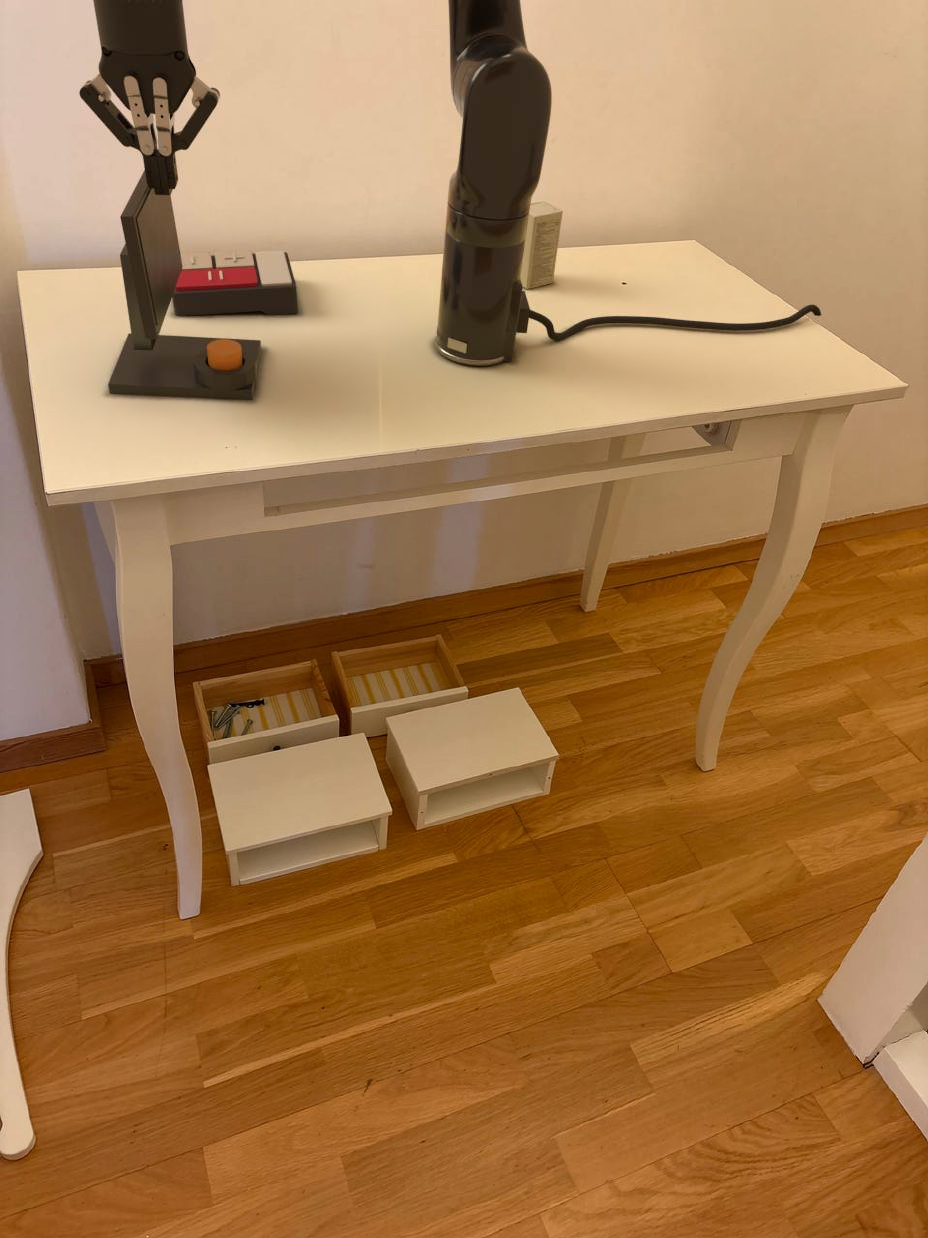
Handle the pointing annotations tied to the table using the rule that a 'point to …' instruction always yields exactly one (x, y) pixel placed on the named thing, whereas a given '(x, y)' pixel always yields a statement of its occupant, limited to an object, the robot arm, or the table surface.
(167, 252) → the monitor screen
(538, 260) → the cream printed box
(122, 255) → the monitor stand
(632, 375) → the table surface
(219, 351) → the power button
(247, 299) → the calculator
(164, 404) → the table surface
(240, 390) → the monitor base
